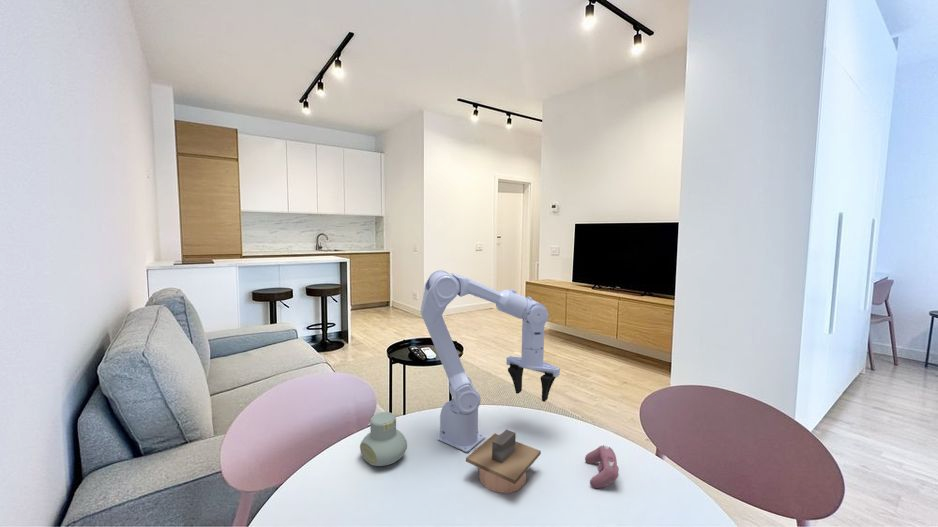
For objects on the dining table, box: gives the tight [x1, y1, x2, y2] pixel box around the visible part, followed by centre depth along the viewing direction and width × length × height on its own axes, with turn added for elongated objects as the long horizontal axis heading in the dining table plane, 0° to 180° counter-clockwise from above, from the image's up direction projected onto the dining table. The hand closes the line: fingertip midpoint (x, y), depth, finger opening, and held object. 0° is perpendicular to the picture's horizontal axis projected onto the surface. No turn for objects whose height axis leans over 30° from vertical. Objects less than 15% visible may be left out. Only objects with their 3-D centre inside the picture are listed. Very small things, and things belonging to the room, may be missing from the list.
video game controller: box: [584, 444, 620, 489], centre depth 81 cm, size 10×5×7 cm, turn 169°
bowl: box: [478, 468, 527, 494], centre depth 81 cm, size 10×10×4 cm
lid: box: [465, 429, 542, 484], centre depth 81 cm, size 12×12×5 cm
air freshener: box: [359, 411, 408, 467], centre depth 86 cm, size 11×8×10 cm
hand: (531, 396), depth 98 cm, fingers open, 7 cm apart
